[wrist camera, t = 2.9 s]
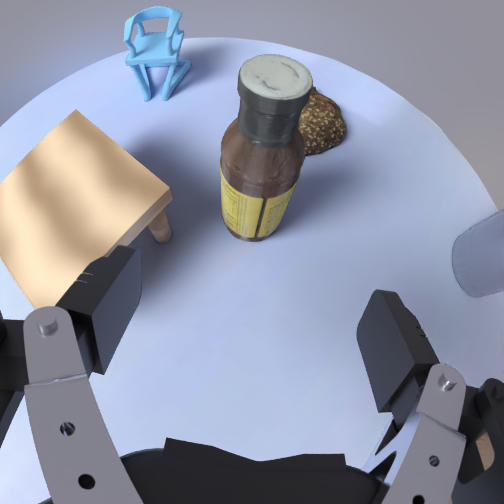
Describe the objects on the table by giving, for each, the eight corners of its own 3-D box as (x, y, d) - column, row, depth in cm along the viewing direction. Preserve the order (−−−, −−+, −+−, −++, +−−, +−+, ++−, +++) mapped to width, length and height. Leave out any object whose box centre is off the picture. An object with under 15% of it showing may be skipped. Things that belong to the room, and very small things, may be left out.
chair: (128, 103, 37) (109, 36, 25) (141, 65, 39) (129, 3, 28) (183, 101, 37) (177, 30, 26) (191, 63, 40) (188, -2, 28)
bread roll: (262, 163, 36) (268, 138, 31) (241, 91, 39) (245, 65, 34) (357, 155, 38) (372, 133, 33) (326, 88, 41) (336, 65, 36)
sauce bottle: (276, 190, 35) (329, 48, 16) (281, 243, 33) (354, 121, 14) (218, 191, 34) (223, 39, 15) (219, 245, 32) (223, 113, 13)
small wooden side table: (103, 162, 34) (76, 109, 24) (183, 232, 32) (169, 187, 23) (25, 245, 30) (-24, 213, 20) (94, 331, 28) (46, 324, 19)
